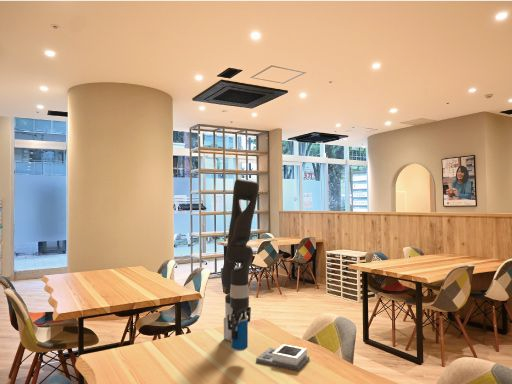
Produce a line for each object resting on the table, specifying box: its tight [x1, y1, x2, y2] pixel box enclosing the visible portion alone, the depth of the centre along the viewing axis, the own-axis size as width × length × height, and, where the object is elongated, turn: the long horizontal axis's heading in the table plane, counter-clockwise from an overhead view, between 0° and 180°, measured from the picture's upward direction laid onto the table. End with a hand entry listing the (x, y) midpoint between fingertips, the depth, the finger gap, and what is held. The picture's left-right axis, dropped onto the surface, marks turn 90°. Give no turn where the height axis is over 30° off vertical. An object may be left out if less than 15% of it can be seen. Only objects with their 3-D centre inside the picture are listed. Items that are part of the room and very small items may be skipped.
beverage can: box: [230, 317, 249, 352], centre depth 150 cm, size 6×6×12 cm
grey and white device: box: [255, 343, 310, 372], centre depth 150 cm, size 18×12×4 cm, turn 61°
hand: (239, 336), depth 150 cm, fingers closed on beverage can, 6 cm apart
